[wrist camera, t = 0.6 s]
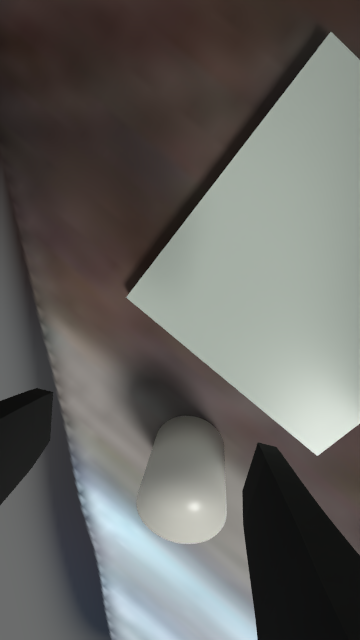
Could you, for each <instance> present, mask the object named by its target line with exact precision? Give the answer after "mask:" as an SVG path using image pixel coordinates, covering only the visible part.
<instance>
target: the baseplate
mask: <svg viewBox="0 0 360 640" xmlns="http://www.w3.org/2000/svg"><path fill="white" fill-rule="evenodd" d="M126 298H128V299H129V300H130V301H131V302H132V303H134V304H135V305H136V306H137V307H138V308H140V309H141V310H142V311H143V312H144V313H146V314H147V315H148V316H149V317H150V318H152V319H153V320H154V321H155V322H156V323H158V324H159V325H160V326H161V327H162V328H164V329H165V330H166V331H167V332H168V333H170V334H171V335H172V336H173V337H175V338H176V339H177V340H178V341H179V342H181V343H182V344H183V345H184V346H185V347H187V348H188V349H189V350H190V351H191V352H193V353H194V354H195V355H196V356H197V357H199V358H200V359H201V360H202V361H203V362H205V363H206V364H207V365H208V366H209V367H211V368H212V369H213V370H214V371H216V372H217V373H218V374H219V375H220V376H222V377H223V378H224V379H225V380H226V381H228V382H229V383H230V384H231V385H232V386H234V387H235V388H236V389H237V390H238V391H240V392H241V393H242V394H243V395H244V396H246V397H247V398H248V399H249V400H250V401H252V402H253V403H254V404H255V405H257V406H258V407H259V408H260V409H261V410H263V411H264V412H265V413H266V414H267V415H269V416H270V417H271V418H272V419H273V420H275V421H276V422H277V423H278V424H279V425H281V426H282V427H283V428H284V429H285V430H287V431H288V432H289V433H290V434H291V435H293V436H294V437H295V438H296V439H298V440H299V441H300V442H301V443H302V444H304V445H305V446H306V447H307V448H308V449H310V450H311V451H312V452H313V453H314V454H316V455H317V456H318V455H319V454H320V453H322V452H323V451H324V450H326V449H327V448H328V447H330V446H331V445H332V444H334V443H335V442H336V441H337V440H339V439H340V438H341V437H343V436H344V435H345V434H347V433H348V432H349V431H351V430H352V429H353V428H354V427H356V426H357V425H358V424H360V60H359V59H358V58H357V57H356V56H355V55H354V54H353V53H352V52H351V51H350V50H349V49H348V48H347V47H346V46H345V45H344V44H343V43H342V42H341V41H340V40H339V39H338V38H337V37H336V36H335V35H334V34H333V33H332V32H330V33H329V35H328V36H327V37H326V39H325V40H324V41H323V43H322V44H321V45H320V46H319V48H318V49H317V50H316V52H315V53H314V54H313V56H312V57H311V58H310V59H309V61H308V62H307V63H306V65H305V66H304V67H303V69H302V70H301V71H300V72H299V74H298V75H297V76H296V78H295V79H294V80H293V81H292V83H291V84H290V85H289V87H288V88H287V89H286V91H285V92H284V93H283V94H282V96H281V97H280V98H279V100H278V101H277V102H276V104H275V105H274V106H273V107H272V109H271V110H270V111H269V113H268V114H267V115H266V117H265V118H264V119H263V120H262V122H261V123H260V124H259V126H258V127H257V128H256V130H255V131H254V132H253V133H252V135H251V136H250V137H249V139H248V140H247V141H246V142H245V144H244V145H243V146H242V148H241V149H240V150H239V152H238V153H237V154H236V155H235V157H234V158H233V159H232V161H231V162H230V163H229V165H228V166H227V167H226V168H225V170H224V171H223V172H222V174H221V175H220V176H219V178H218V179H217V180H216V181H215V183H214V184H213V185H212V187H211V188H210V189H209V190H208V192H207V193H206V194H205V196H204V197H203V198H202V200H201V201H200V202H199V203H198V205H197V206H196V207H195V209H194V210H193V211H192V213H191V214H190V215H189V216H188V218H187V219H186V220H185V222H184V223H183V224H182V226H181V227H180V228H179V229H178V231H177V232H176V233H175V235H174V236H173V237H172V239H171V240H170V241H169V242H168V244H167V245H166V246H165V248H164V249H163V250H162V251H161V253H160V254H159V255H158V257H157V258H156V259H155V261H154V262H153V263H152V264H151V266H150V267H149V268H148V270H147V271H146V272H145V274H144V275H143V276H142V277H141V279H140V280H139V281H138V283H137V284H136V285H135V287H134V288H133V289H132V290H131V292H130V293H129V294H128V296H127V297H126Z"/></svg>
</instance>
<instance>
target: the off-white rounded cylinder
mask: <svg viewBox="0 0 360 640" xmlns="http://www.w3.org/2000/svg"><path fill="white" fill-rule="evenodd" d="M137 510H138V513H139V515H140V517H141V519H142V521H143V522H144V524H145V525H146V526H147V527H148V528H149V529H150V530H151V531H152V532H154V533H155V534H157V535H158V536H160V537H162V538H164V539H166V540H169V541H172V542H176V543H181V544H195V543H200V542H204V541H207V540H209V539H211V538H212V537H214V536H215V535H216V534H218V533H219V532H220V530H221V529H222V527H223V526H224V524H225V521H226V516H227V509H226V483H225V458H224V442H223V439H222V437H221V434H220V433H219V431H218V430H217V429H216V428H215V427H214V426H213V425H212V424H211V423H209V422H208V421H206V420H204V419H201V418H199V417H195V416H179V417H175V418H172V419H170V420H168V421H167V422H166V423H164V424H163V425H162V426H161V428H160V429H159V431H158V433H157V436H156V439H155V442H154V445H153V448H152V451H151V454H150V457H149V461H148V464H147V467H146V470H145V473H144V476H143V479H142V482H141V486H140V489H139V492H138V495H137Z"/></svg>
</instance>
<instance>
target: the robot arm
mask: <svg viewBox="0 0 360 640" xmlns="http://www.w3.org/2000/svg"><path fill="white" fill-rule="evenodd" d="M52 400H53V392H50V391H46V390H42V389H38V388H36V389H33V390H29V391H27V392H24V393H21V394H18V395H15V396H13V397H10V398H7V399H5V400H2V401H0V505H1V504H2V502H3V501H4V500H5V499H6V498H7V497H8V495H9V494H10V493H11V492H12V491H13V490H14V488H15V487H16V486H17V485H18V484H19V482H20V481H21V480H22V479H23V477H25V475H26V474H27V473H28V472H29V470H30V469H31V468H32V467H33V465H34V464H35V462H36V461H37V459H38V458H39V456H40V455H41V453H42V452H43V450H44V449H45V447H46V446H47V444H48V443H49V441H50V432H51V416H52ZM243 526H244V534H245V542H246V550H247V558H248V565H249V573H250V580H251V588H252V595H253V603H254V610H255V618H256V627H257V637H258V640H360V555H359V554H358V553H357V552H356V551H355V550H354V548H353V547H352V546H351V545H350V543H349V542H348V541H347V540H346V539H345V537H344V536H343V535H342V534H341V532H340V531H339V530H338V529H337V528H336V526H335V525H334V524H333V523H332V521H331V520H330V519H329V518H328V516H327V515H326V514H325V512H324V511H323V510H322V509H321V507H320V506H319V505H318V503H317V502H316V501H315V499H314V498H313V497H312V495H311V494H310V493H309V491H308V490H307V489H306V487H305V486H304V485H303V483H302V482H301V480H300V479H299V478H298V476H297V475H296V473H295V472H294V471H293V469H292V468H291V466H290V465H289V464H288V462H287V461H286V459H285V458H284V457H283V455H282V454H281V452H280V451H279V450H278V449H277V447H274V446H270V445H266V444H262V443H258V444H257V447H256V450H255V453H254V456H253V460H252V463H251V466H250V469H249V472H248V475H247V478H246V482H245V485H244V488H243Z"/></svg>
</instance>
